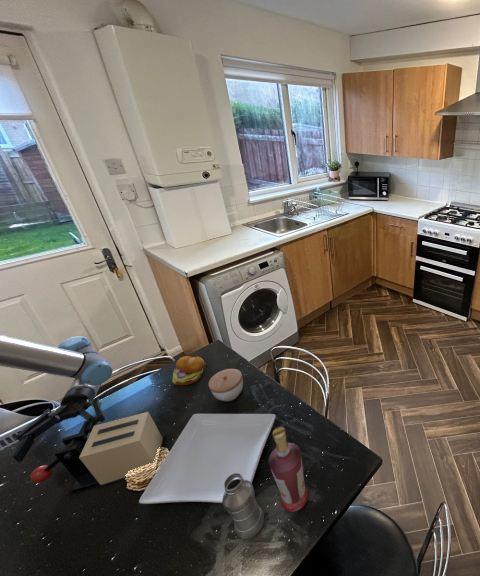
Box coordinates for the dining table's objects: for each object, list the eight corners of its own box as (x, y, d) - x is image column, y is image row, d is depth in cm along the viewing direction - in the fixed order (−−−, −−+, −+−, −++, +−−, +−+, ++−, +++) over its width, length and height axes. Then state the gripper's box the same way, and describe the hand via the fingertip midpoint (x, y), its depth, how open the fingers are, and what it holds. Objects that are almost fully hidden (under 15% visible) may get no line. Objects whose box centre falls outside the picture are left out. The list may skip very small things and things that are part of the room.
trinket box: (211, 409, 107) (203, 390, 103) (217, 386, 116) (210, 368, 112) (244, 403, 110) (238, 384, 105) (247, 381, 119) (242, 362, 114)
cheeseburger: (169, 377, 120) (168, 355, 117) (200, 369, 127) (200, 348, 124) (175, 392, 113) (174, 369, 110) (207, 383, 121) (207, 361, 117)
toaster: (100, 486, 85) (77, 457, 79) (112, 453, 93) (93, 425, 87) (156, 468, 89) (139, 440, 83) (163, 438, 98) (148, 410, 91)
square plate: (247, 510, 80) (244, 502, 78) (141, 510, 80) (135, 502, 78) (278, 420, 104) (276, 412, 102) (196, 420, 103) (192, 412, 102)
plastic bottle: (271, 521, 78) (255, 475, 68) (248, 549, 73) (228, 504, 63) (254, 506, 81) (237, 460, 71) (231, 532, 76) (209, 486, 66)
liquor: (313, 505, 81) (299, 437, 67) (285, 521, 78) (265, 453, 64) (304, 480, 87) (290, 413, 73) (278, 494, 83) (258, 426, 70)
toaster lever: (41, 487, 82) (22, 484, 79) (48, 473, 85) (31, 469, 83) (81, 452, 82) (64, 448, 79) (87, 439, 85) (71, 434, 83)
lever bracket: (72, 493, 83) (45, 462, 77) (86, 462, 91) (62, 432, 84) (100, 484, 85) (76, 454, 79) (111, 455, 93) (90, 425, 86)
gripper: (129, 392, 110) (108, 443, 93) (39, 413, 102) (-3, 474, 85) (121, 376, 106) (97, 427, 89) (26, 397, 98) (-20, 458, 81)
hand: (48, 450), depth 87 cm, fingers open, 13 cm apart
